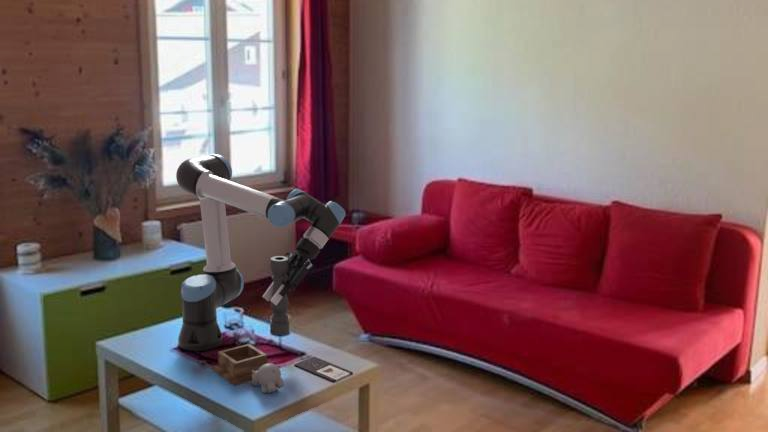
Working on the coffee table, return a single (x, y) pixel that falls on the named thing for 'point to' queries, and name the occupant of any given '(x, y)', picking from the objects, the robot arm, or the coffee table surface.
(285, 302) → the candle holder
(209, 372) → the coffee table surface
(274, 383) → the chubby cartoon animal
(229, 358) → the open wooden box
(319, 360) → the chocolate bar
